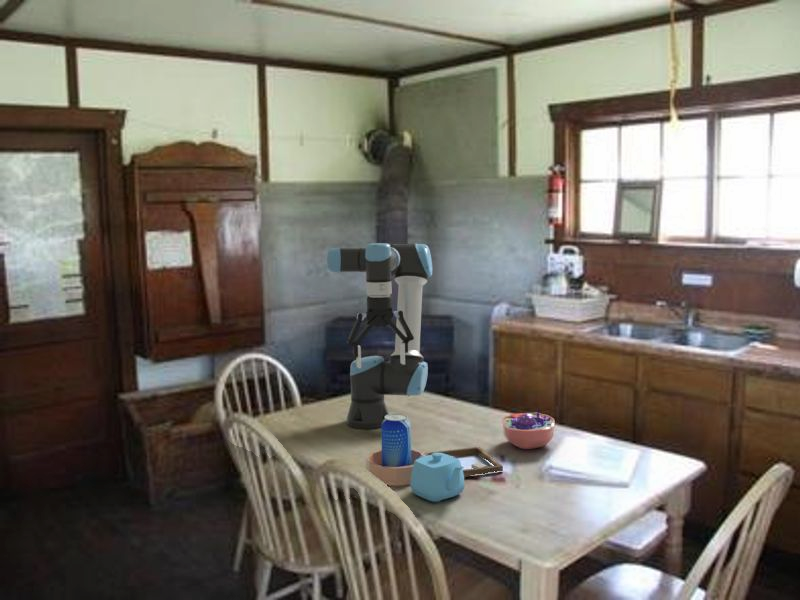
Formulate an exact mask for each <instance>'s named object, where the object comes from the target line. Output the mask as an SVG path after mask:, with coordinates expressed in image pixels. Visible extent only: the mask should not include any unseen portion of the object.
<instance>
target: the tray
mask: <svg viewBox="0 0 800 600" xmlns="http://www.w3.org/2000/svg"><path fill="white" fill-rule="evenodd" d="M423 453H424V454H425V455H426V456H428V455H432V454H433V453H444V454H447V455H450V456H459V457H466V456H475V455H478V456H479V457H480V458H481V457H482V458H484V459H486V460H488V461H489V462H490V463H492V464H493V465H494V466H491V465H489V466H487V467H482V468H474V469H472V468H467V469H462V470H463V474H464V479H465V478H466V477H468V476H470V475H475V474H482V473H483V474H485V473H488V472H494V471H495V472H497V471H503V472H504V466H503V465H502V464H501V463H499V462H498V461H497V460H496V459H494V458H493V456H491V455H490V454H489V453H487V452H486V450H484V449H483V448H481V446H473V447H467V448H466V447H464V448H458V449H457V448H455V449H447V450H439V451H431V452H423ZM482 458H481V459H482ZM484 459H483V460H484ZM468 478H469V477H468ZM466 479H467V478H466Z"/></svg>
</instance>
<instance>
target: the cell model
mask: <svg viewBox="0 0 800 600" xmlns="http://www.w3.org/2000/svg"><path fill="white" fill-rule="evenodd" d="M501 422H502V435H503V436H504V437H505V439H506V440H507V441H508V442H509V443H510V444H512V445H514V446H515V447H518V448H520V449H521V450H522V449H523V450H531V449H534V450H535V449H537V448H543V447H544V446H546V445H548V444H549V443H550V442H551V441H552V440H553V436H554V433H555V428H556V421H555V419H554V418H553V417H552V416H550V415H549V414H544V413H540V412H539V411H535V412H523V413H522V412H521V413H513V414H508V415H505V416H503V417H502V418H501Z"/></svg>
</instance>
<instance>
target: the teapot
mask: <svg viewBox="0 0 800 600" xmlns="http://www.w3.org/2000/svg"><path fill="white" fill-rule="evenodd" d="M464 468H465V467H464V466H462V463H461V459H459V458H457V457H452V456H450V455H447V454H444V453H433V454H432V455H428V456H425V455H423V456H420V457H419V458H418V459H417V460H415V461H414V465H413V469H412V473H411V485H410V489H411V491H412V494H415V495H417V496H419V497H420V498H423V499H424V500H427V501H429V502H433V503H440V502H441V501H442V500H447V499H450V498H455V497H456V496H458V495H460V494H461V493H463V491H464V489H465V485H466V484H465V478H464V474H463V470H464Z"/></svg>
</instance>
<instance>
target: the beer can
mask: <svg viewBox="0 0 800 600" xmlns="http://www.w3.org/2000/svg"><path fill="white" fill-rule="evenodd" d="M408 417H409V416H408V415H407V414H405V413H389V414H388V415H386V416H385V417H384V418H385V419H384V421H383V422H382V425H381V427H380V428H381V449H382V466H386V467H403V466H411V449H412V425H411V422H410V420H409V418H408Z"/></svg>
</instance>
